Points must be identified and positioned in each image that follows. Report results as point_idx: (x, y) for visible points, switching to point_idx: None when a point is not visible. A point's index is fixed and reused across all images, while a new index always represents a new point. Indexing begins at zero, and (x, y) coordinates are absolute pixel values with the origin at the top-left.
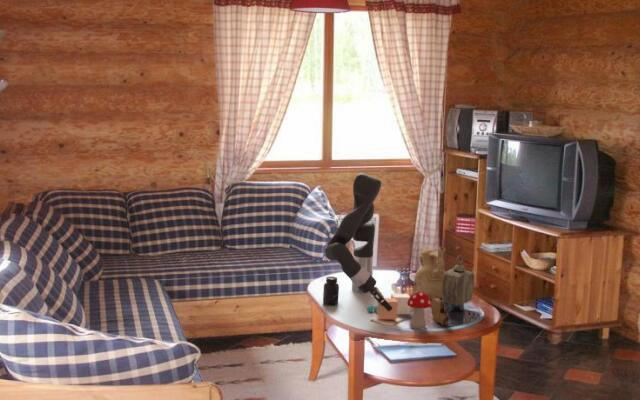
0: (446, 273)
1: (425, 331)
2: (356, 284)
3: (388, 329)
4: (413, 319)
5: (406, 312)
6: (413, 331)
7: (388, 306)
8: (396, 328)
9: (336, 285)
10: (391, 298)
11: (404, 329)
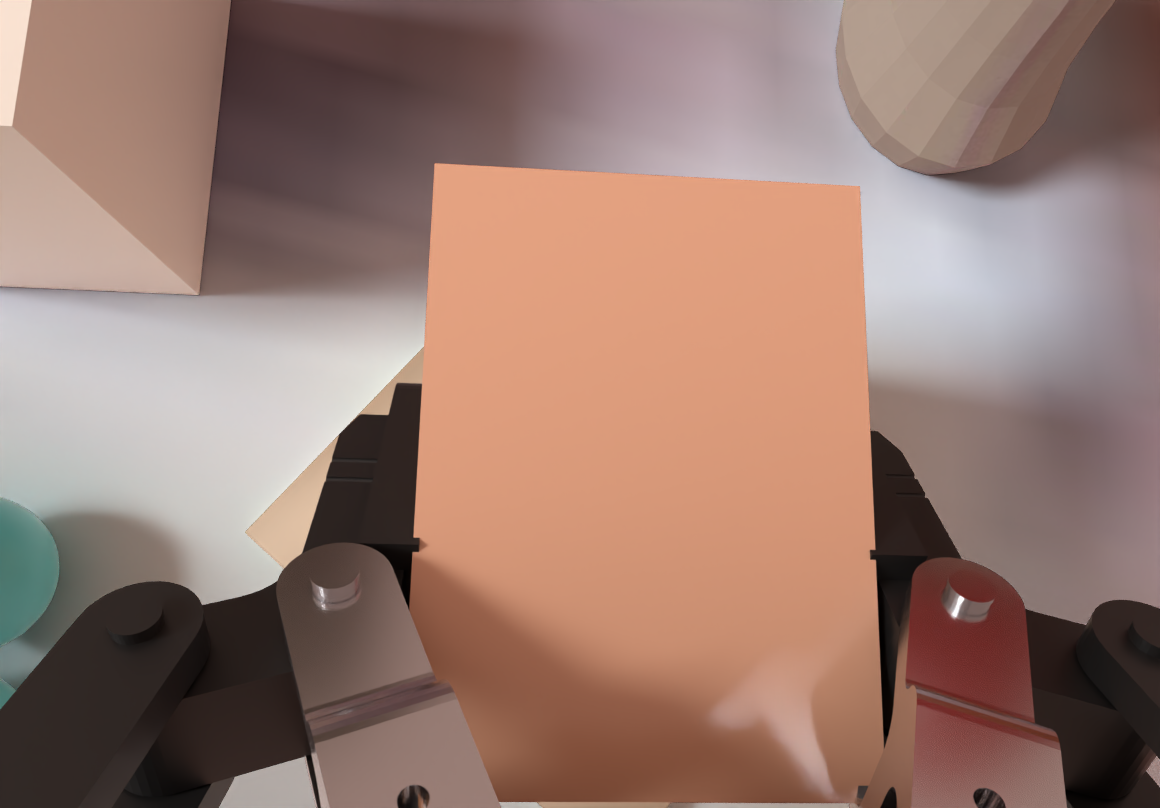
0: None
1: (1120, 10)
2: None
3: (1081, 595)
4: (1055, 68)
5: (216, 31)
6: (1139, 191)
7: (922, 518)
8: (1016, 435)
9: None
10: (482, 292)
11: (1056, 310)
